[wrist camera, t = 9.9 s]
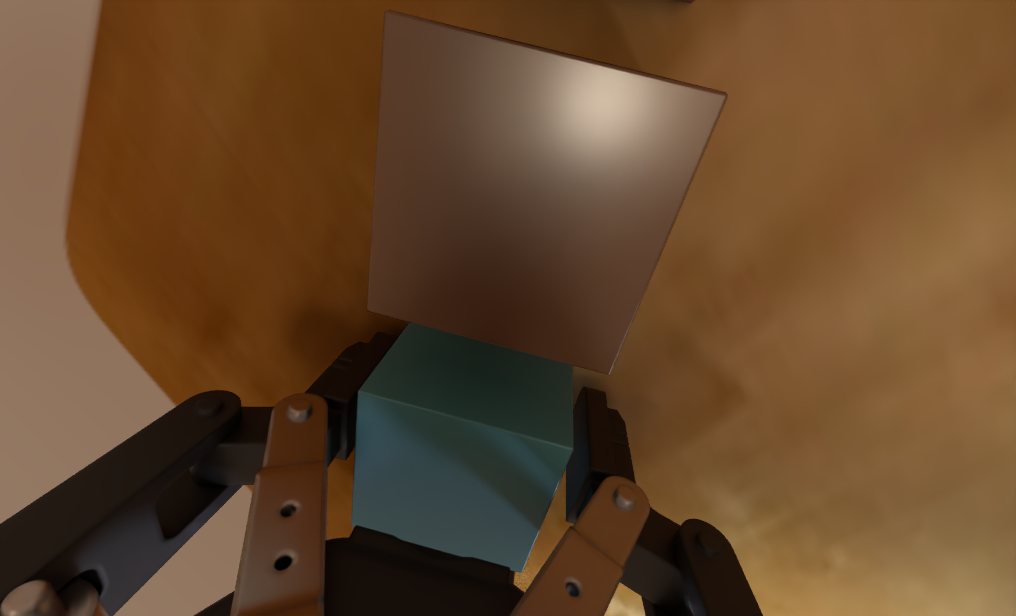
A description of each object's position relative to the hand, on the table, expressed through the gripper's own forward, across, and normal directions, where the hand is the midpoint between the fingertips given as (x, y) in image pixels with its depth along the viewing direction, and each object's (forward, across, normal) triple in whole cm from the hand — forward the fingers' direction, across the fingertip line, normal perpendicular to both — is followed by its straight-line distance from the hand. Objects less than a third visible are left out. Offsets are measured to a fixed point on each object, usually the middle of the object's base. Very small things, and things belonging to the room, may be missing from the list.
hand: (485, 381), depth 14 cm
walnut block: (0, 0, -7) cm, 7 cm away
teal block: (0, 0, 0) cm, 1 cm away
